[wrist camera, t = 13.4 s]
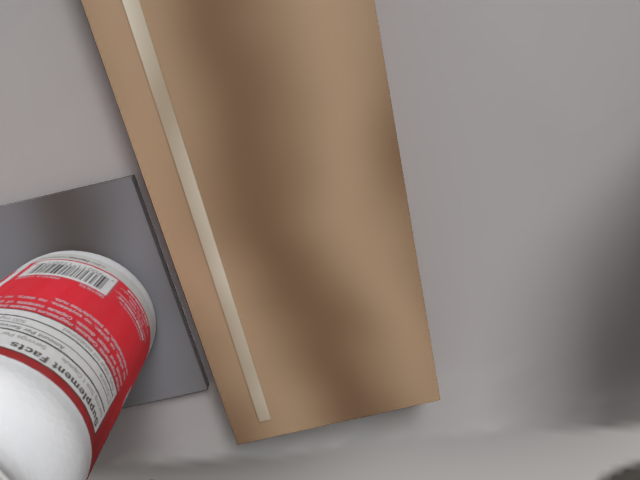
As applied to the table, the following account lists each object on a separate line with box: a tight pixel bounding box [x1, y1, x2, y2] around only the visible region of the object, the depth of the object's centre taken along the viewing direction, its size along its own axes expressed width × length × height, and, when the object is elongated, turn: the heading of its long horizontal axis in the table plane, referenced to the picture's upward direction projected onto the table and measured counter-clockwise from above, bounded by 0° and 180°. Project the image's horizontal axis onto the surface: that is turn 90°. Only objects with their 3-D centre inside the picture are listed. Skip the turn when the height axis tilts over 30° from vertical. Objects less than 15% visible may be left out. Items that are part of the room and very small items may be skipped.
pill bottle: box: [0, 251, 156, 480], centre depth 15 cm, size 6×6×11 cm
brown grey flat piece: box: [0, 0, 440, 445], centre depth 17 cm, size 18×28×2 cm, turn 12°
